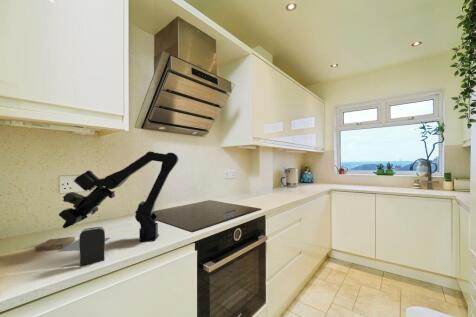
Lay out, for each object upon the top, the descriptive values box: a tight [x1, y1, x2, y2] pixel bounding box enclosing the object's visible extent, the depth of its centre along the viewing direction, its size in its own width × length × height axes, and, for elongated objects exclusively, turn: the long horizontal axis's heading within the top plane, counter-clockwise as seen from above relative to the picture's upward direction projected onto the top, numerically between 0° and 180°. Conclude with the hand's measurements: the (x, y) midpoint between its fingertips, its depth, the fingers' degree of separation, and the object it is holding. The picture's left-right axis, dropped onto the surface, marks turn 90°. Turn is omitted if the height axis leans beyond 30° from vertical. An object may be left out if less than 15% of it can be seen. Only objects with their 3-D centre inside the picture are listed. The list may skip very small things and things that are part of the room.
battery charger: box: [78, 226, 106, 267], centre depth 69 cm, size 7×4×11 cm, turn 124°
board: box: [34, 236, 76, 252], centre depth 82 cm, size 2×8×9 cm
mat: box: [57, 237, 111, 252], centre depth 83 cm, size 13×12×1 cm
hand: (63, 227), depth 82 cm, fingers closed
